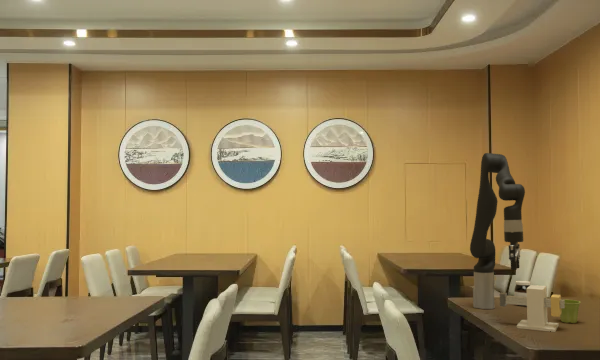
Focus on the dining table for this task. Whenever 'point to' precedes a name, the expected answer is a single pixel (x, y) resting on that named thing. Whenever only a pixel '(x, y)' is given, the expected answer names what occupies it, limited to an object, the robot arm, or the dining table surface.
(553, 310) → the block
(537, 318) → the bracket
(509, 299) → the shaft
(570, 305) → the plant pot
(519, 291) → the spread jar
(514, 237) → the robot arm
